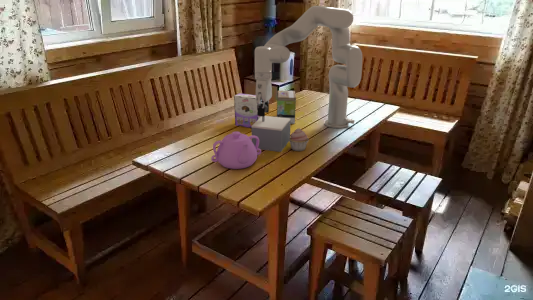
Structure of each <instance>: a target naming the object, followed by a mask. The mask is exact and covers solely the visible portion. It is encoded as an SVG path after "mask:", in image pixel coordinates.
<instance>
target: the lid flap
mask: <svg viewBox="0 0 533 300" xmlns="http://www.w3.org/2000/svg"><path fill="white" fill-rule="evenodd" d="M264 108H265V112H266V111H267V110H268V107H267V105H265V104H264ZM290 119H291V118H281V117H277V116H270V115H265V116H264V117H263V116H262V117H260V118H259V119H258V120H257V121H256V122H255V123H254V124H253V125H252V128H261V129H270V130H279V131H282V130H283V128H284V127H285V126H286V125H287V124H288V122H289V121H290ZM252 128H251V129H252Z"/></svg>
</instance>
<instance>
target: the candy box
mask: <svg viewBox="0 0 533 300" xmlns="http://www.w3.org/2000/svg"><path fill="white" fill-rule="evenodd" d="M261 101H262V100H261ZM233 102H234V103H233V104H234V125H235V126H237V127H244V128H250V129H252V125H253V124H254V123H255V122H256V121H257V120H258V119H259V118H260V117H262V116H258V104H257V101H256V94H248V93H239V92H238V93H237V94H235V95H234V96H233ZM261 103H262V104H263V102H261Z"/></svg>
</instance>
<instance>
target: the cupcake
mask: <svg viewBox="0 0 533 300" xmlns="http://www.w3.org/2000/svg"><path fill="white" fill-rule="evenodd" d="M309 141H310V140H309V137H308V134H306V132H305V131H304V130H302V129H301V128H300V127H299V128H296V129H295V130H294V131H293V132H292V133H290V138H289V142H288V143H289V144H290V148H291V150H292V151H295V152H302V151H305V150H306V147H307V145H308V143H309Z"/></svg>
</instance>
